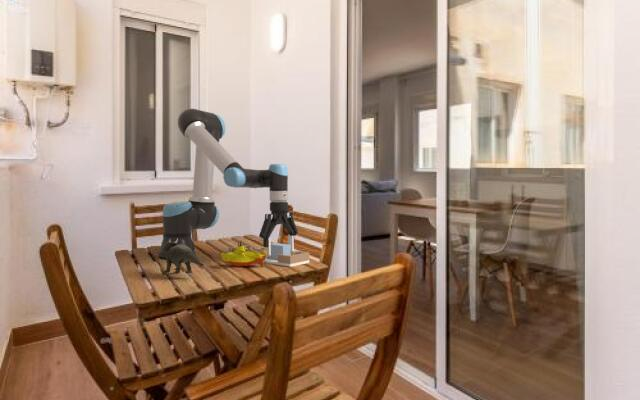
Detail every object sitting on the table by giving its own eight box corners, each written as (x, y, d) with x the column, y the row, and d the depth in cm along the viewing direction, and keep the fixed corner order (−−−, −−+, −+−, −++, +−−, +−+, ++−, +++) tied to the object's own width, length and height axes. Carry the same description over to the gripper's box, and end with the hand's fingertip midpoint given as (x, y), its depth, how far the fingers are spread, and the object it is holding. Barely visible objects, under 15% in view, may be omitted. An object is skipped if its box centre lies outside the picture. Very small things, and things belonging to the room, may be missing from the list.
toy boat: (262, 268, 143) (262, 242, 142) (218, 267, 146) (217, 241, 146) (268, 265, 149) (268, 240, 149) (225, 264, 153) (225, 239, 152)
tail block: (267, 258, 159) (267, 244, 159) (275, 257, 163) (275, 243, 162) (282, 260, 153) (282, 245, 153) (290, 259, 157) (290, 244, 157)
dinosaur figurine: (206, 274, 132) (206, 242, 132) (184, 279, 126) (183, 244, 125) (175, 266, 146) (175, 237, 146) (153, 270, 140) (153, 239, 140)
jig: (228, 256, 169) (228, 247, 169) (248, 253, 178) (248, 245, 178) (290, 266, 146) (290, 256, 146) (309, 262, 155) (309, 252, 155)
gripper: (262, 202, 145) (263, 257, 146) (305, 201, 165) (306, 250, 165) (249, 202, 150) (250, 256, 150) (292, 201, 170) (293, 248, 170)
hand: (279, 253), depth 158 cm, fingers open, 13 cm apart
